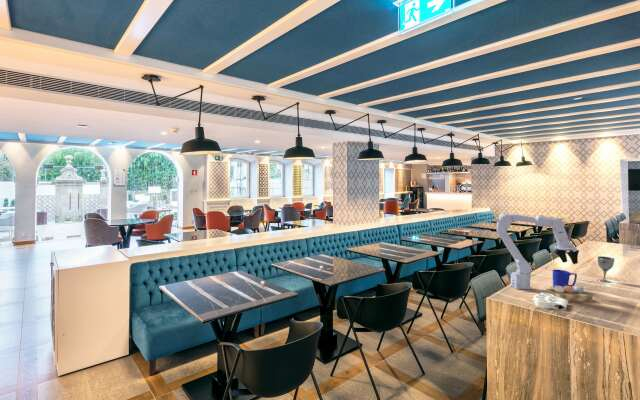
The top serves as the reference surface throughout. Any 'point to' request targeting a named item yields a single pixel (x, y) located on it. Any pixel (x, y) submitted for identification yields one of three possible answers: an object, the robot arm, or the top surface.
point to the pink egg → (568, 289)
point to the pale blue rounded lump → (578, 289)
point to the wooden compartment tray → (571, 296)
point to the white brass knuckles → (549, 301)
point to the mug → (562, 278)
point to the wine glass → (605, 266)
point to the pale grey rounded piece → (559, 289)
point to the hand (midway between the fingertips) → (570, 262)
